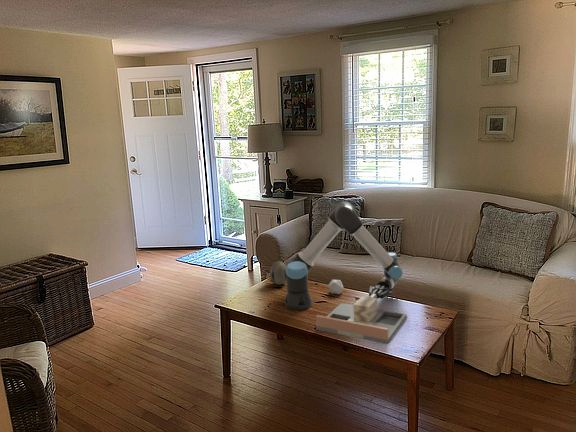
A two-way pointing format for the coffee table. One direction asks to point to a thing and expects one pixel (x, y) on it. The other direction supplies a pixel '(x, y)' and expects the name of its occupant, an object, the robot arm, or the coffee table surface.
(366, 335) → the box
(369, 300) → the block
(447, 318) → the coffee table surface
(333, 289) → the die
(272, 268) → the decorative egg
